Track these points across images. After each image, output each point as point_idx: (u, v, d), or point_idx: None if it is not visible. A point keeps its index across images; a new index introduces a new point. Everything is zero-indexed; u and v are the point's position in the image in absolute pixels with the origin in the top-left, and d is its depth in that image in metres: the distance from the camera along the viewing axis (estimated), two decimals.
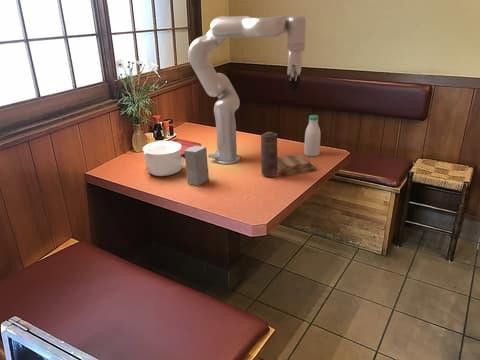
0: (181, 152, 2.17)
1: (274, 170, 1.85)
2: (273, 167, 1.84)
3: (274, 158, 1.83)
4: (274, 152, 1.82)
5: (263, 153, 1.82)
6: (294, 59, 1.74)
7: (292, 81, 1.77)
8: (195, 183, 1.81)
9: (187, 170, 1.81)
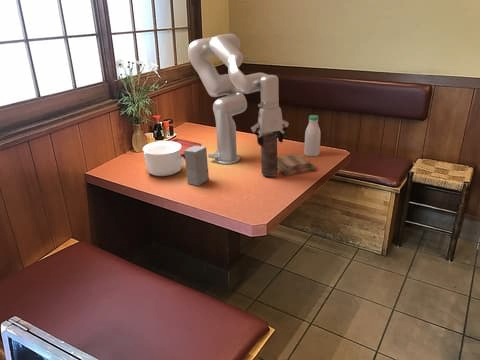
0: (181, 152, 2.17)
1: (274, 170, 1.85)
2: (273, 167, 1.84)
3: (274, 158, 1.83)
4: (274, 152, 1.82)
5: (263, 153, 1.82)
6: None
7: None
8: (195, 183, 1.81)
9: (187, 170, 1.81)
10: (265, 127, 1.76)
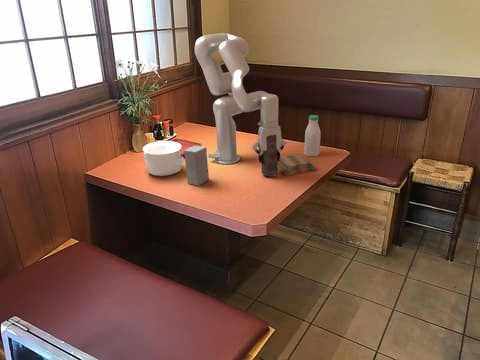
0: (181, 152, 2.17)
1: (274, 170, 1.85)
2: (273, 167, 1.84)
3: (274, 158, 1.83)
4: (274, 152, 1.82)
5: (263, 153, 1.82)
6: None
7: None
8: (195, 183, 1.81)
9: (187, 170, 1.81)
10: (264, 145, 1.80)
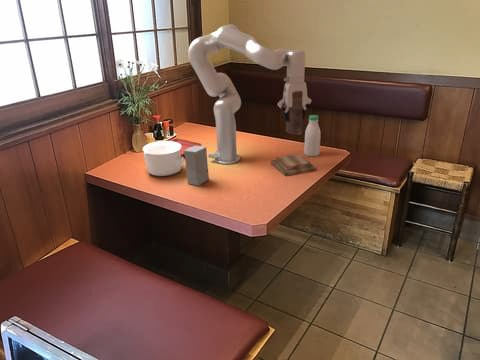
0: (181, 152, 2.17)
1: (299, 128, 1.86)
2: (298, 124, 1.85)
3: (300, 115, 1.83)
4: (300, 109, 1.82)
5: (289, 110, 1.83)
6: None
7: None
8: (195, 183, 1.81)
9: (187, 170, 1.81)
10: (290, 101, 1.80)
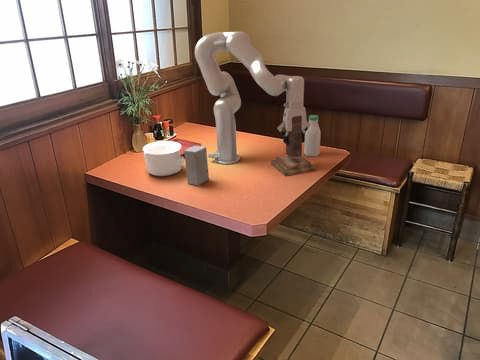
0: (181, 152, 2.17)
1: (299, 151, 1.90)
2: (297, 147, 1.89)
3: (299, 139, 1.88)
4: (299, 133, 1.87)
5: (288, 134, 1.87)
6: None
7: None
8: (195, 183, 1.81)
9: (187, 170, 1.81)
10: (290, 126, 1.85)
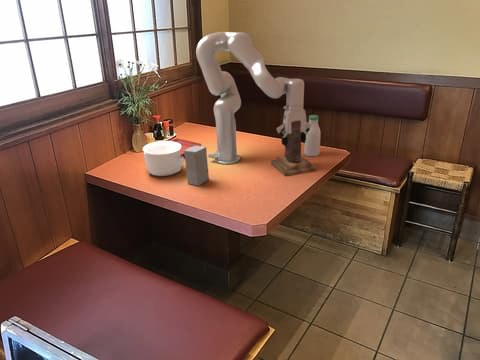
0: (181, 152, 2.17)
1: (298, 155, 1.91)
2: (296, 152, 1.90)
3: (298, 143, 1.89)
4: (298, 137, 1.88)
5: (287, 138, 1.88)
6: None
7: None
8: (195, 183, 1.81)
9: (187, 170, 1.81)
10: (290, 128, 1.85)
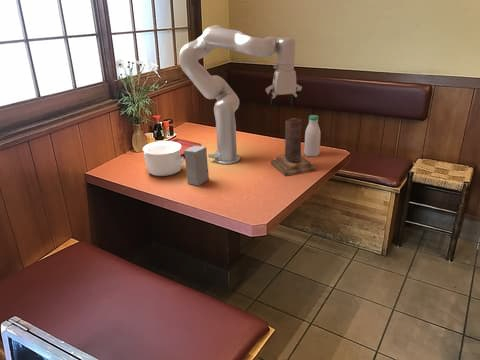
0: (181, 152, 2.17)
1: (298, 155, 1.91)
2: (296, 152, 1.90)
3: (298, 143, 1.89)
4: (298, 137, 1.88)
5: (287, 138, 1.88)
6: None
7: None
8: (195, 183, 1.81)
9: (187, 170, 1.81)
10: (279, 89, 1.82)
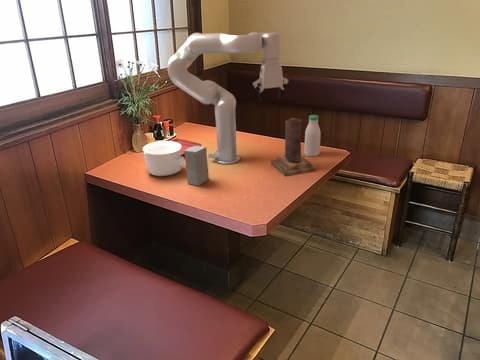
0: (181, 152, 2.17)
1: (298, 155, 1.91)
2: (296, 152, 1.90)
3: (298, 143, 1.89)
4: (298, 137, 1.88)
5: (287, 138, 1.88)
6: None
7: None
8: (195, 183, 1.81)
9: (187, 170, 1.81)
10: (266, 82, 1.87)
